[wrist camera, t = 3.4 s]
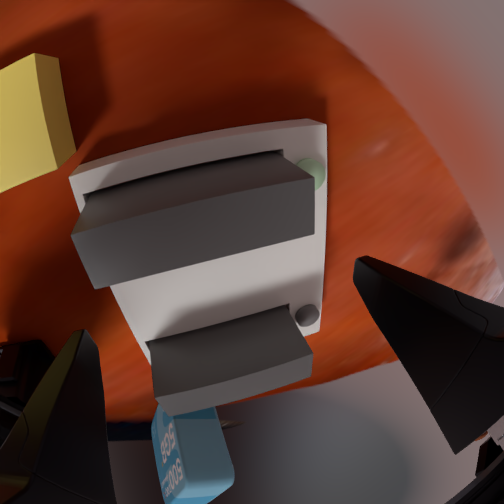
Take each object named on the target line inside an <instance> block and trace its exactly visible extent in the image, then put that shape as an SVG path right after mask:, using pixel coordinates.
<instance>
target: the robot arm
mask: <svg viewBox="0 0 504 504" xmlns="http://www.w3.org/2000/svg"><path fill="white" fill-rule="evenodd" d="M353 282H354V284H355V286H356V288H357V290H358V292H359V294H360V296H361V297H362V299H363V301H364V303H365V305H366V307H367V309H368V311H369V313H370V314H371V316H372V318H373V320H374V321H375V323H376V324H377V326H378V327H379V329H380V330H381V332H382V333H383V335H384V336H385V338H386V339H387V341H388V343H389V344H390V346H391V347H392V349H393V350H394V352H395V353H396V355H397V357H398V358H399V360H400V361H401V363H402V364H403V366H404V368H405V369H406V371H407V372H408V374H409V376H410V377H411V379H412V381H413V382H414V384H415V386H416V387H417V389H418V391H419V392H420V394H421V395H422V397H423V399H424V401H425V402H426V404H427V406H428V407H429V409H430V411H431V413H432V415H433V416H434V418H435V420H436V422H437V423H438V425H439V427H440V429H441V431H442V432H443V434H444V436H445V438H446V440H447V441H448V443H449V445H450V447H451V449H452V451H453V452H454V454H455V455H456V454H457V453H459V452H460V451H462V450H463V449H464V448H466V447H467V446H468V445H469V444H471V443H472V442H473V441H475V440H476V439H477V438H478V437H480V436H481V435H482V434H483V433H484V432H486V431H488V433H489V434H490V437H489V438H488V439H487V440H486V441H485V442H484V443H483V444H482V445H481V446H480V449H479V456H478V462H477V468H476V473H475V475H476V478H475V479H474V480H473V481H472V482H471V483H470V484H469V485H467V486H466V487H465V488H464V489H463V490H461V491H460V492H459V493H458V494H457V495H455V496H454V497H453V498H451V499H450V500H449V501H448V502H446V503H445V504H504V308H503V307H500V306H498V305H494V304H492V303H489V302H486V301H483V300H480V299H477V298H474V297H472V296H469V295H467V294H464V293H462V292H459V291H457V290H453V289H452V288H450V287H447V286H445V285H442V284H440V283H437V282H435V281H432V280H430V279H427V278H425V277H422V276H420V275H417V274H415V273H412V272H409V271H407V270H404V269H402V268H399V267H396V266H394V265H391V264H389V263H386V262H383V261H381V260H378V259H375V258H373V257H370V256H367V255H366V256H362V257H359V258H357V259H356V260H355V265H354V272H353ZM0 504H117V502H116V497H115V491H114V485H113V479H112V473H111V466H110V458H109V451H108V441H107V430H106V418H105V401H104V390H103V382H102V375H101V367H100V358H99V351H98V347H97V345H96V344H95V342H94V341H93V339H92V338H91V336H90V335H89V333H88V332H87V330H85V329H82V330H77V331H74V332H73V333H72V335H71V336H70V338H69V339H68V340H67V342H66V343H65V345H64V346H63V348H62V349H61V351H60V352H59V354H58V355H57V357H56V358H55V357H54V356H53V355H52V354H51V352H50V351H49V350H48V348H47V347H46V346H45V344H44V343H43V342H42V341H40V340H34V341H29V342H24V343H18V344H13V345H8V346H2V347H0Z"/></svg>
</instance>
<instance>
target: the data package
mask: <svg viewBox="0 0 504 504" xmlns="http://www.w3.org/2000/svg"><path fill="white" fill-rule="evenodd" d="M152 439H153V445H154V452H155V457H156V463H157V469H158V474H159V478H160V484H161V489H162V494H163V498H164V501H165V503H166V504H207V503H208V502H210V501H211V500H213V499H214V498H215V497H217V496H218V495H219V494H221V493H222V492H224V491H225V490H226V489H228V488H229V487H230V486H231V485H232V484H233V482H234V468H233V465H232V462H231V459H230V456H229V452H228V449H227V446H226V443H225V439H224V436H223V434H222V430H221V426H220V423H219V419H218V416H217V412H216V409H215V406H214V407H210V408H206V409H202V410H198V411H193V412H189V413H184V414H179V415H175V416H170V417H169V416H168V415H167V414H166V412H165V411H164V410H163V408H162V407H161V406H160V404H158V407H157V410H156V413H155V416H154V419H153V422H152Z"/></svg>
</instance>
